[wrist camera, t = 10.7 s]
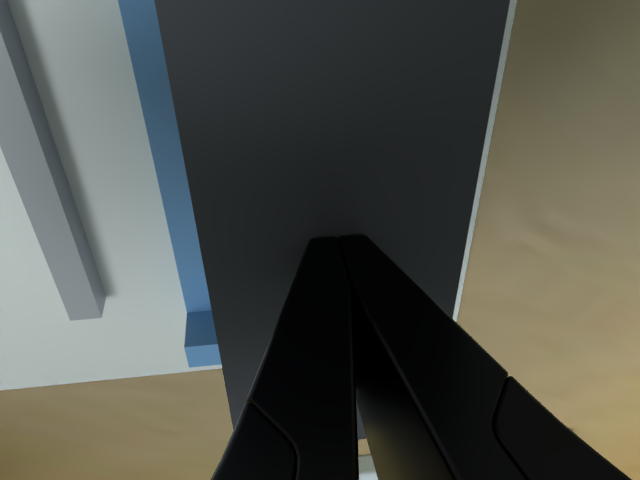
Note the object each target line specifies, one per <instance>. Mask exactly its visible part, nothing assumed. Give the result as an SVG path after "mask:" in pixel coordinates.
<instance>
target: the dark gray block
mask: <svg viewBox="0 0 640 480" xmlns="http://www.w3.org/2000/svg"><path fill="white" fill-rule="evenodd" d="M154 1H155V6H156V12H157V17H158V23H159V28H160V34H161V39H162V44H163V50H164V55H165V61H166V66H167V71H168V77H169V82H170V88H171V93H172V99H173V104H174V109H175V115H176V120H177V126H178V131H179V136H180V142H181V147H182V153H183V158H184V164H185V169H186V174H187V180H188V185H189V191H190V196H191V201H192V207H193V212H194V218H195V223H196V229H197V234H198V239H199V245H200V250H201V256H202V261H203V266H204V272H205V277H206V283H207V288H208V294H209V299H210V304H211V310H212V315H213V321H214V326H215V332H216V337H217V342H218V348H219V353H220V359H221V364H222V369H223V375H224V380H225V386H226V391H227V397H228V402H229V407H230V413H231V418H232V424H233V429H235V426H236V424H237V421H238V419H239V416H240V414H241V411H242V409H243V406H244V404H246V403H247V402H246V400H247V397H248V394H249V392H250V389H251V387H252V384H253V382H254V379H255V376H256V374H257V371H258V369H259V366H260V364H261V361H262V359H263V356H264V354H265V351H266V348H267V346H268V343H269V341H270V338H271V336H272V333H273V331H274V328H275V326H276V323H277V320H278V318H279V315H280V313H281V310H282V308H283V305H284V303H285V300H286V297H287V295H288V292H289V290H290V287H291V285H292V282H293V280H294V277H295V275H296V272H297V269H298V267H299V264H300V262H301V259H302V257H303V254H304V252H305V249H306V247H307V244H308V242H309V240H310V239H311V238H316V237H328V236H334V237H336V238H337V240H338V238H339V237H340V236H342V235H353V234H364V235H366V236H368V237H369V238H370V239H371V240H372V241H373V242H374V243H375V244H376V245H377V246H378V247H379V248H380V249H381V250H382V251H383V252H384V253H385V254H386V255H387V256H388V257H389V258H390V259H391V260H392V261H393V262H394V263H395V264H396V265H397V266H399V267H400V268H401V269H402V270H403V271H404V272H405V273H406V274H407V275H408V276H409V277H410V278H411V279H412V280H413V281H414V282H415V283H416V284H417V285H418V286H419V287H420V288H421V289H422V290H423V291H424V292H425V293H426V294H427V295H428V296H429V297H431V298H432V299H433V300H434V301H435V302H436V303H437V304H438V305H439V306H440V307H441V308H442V309H443V310H444V311H445V312H446V313H447V314H448V315H449V316H450V317H451V318H452V319H453V314H454V308H455V302H456V297H457V291H458V286H459V280H460V275H461V269H462V264H463V258H464V253H465V247H466V242H467V236H468V231H469V225H470V220H471V214H472V208H473V203H474V197H475V192H476V186H477V181H478V175H479V170H480V164H481V159H482V153H483V148H484V142H485V137H486V131H487V126H488V120H489V114H490V109H491V103H492V98H493V92H494V87H495V81H496V76H497V70H498V65H499V59H500V54H501V48H502V43H503V37H504V31H505V26H506V20H507V15H508V9H509V4H510V0H154ZM356 408H357V434H358V439H366V434H365V430H364V427H363V423H362V419H361V416H360V412H359V408H358V405H357V401H356Z"/></svg>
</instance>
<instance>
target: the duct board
mask: <svg viewBox="0 0 640 480" xmlns="http://www.w3.org/2000/svg"><path fill="white" fill-rule="evenodd" d="M516 4H517V0H510V4H509V9H508V15H507V20H506V26H505V31H504V37H503V43H502V48H501V54H500V59H499V65H498V70H497V76H496V81H495V87H494V92H493V98H492V103H491V109H490V114H489V120H488V126H487V131H486V137H485V142H484V148H483V153H482V159H481V164H480V170H479V175H478V181H477V186H476V192H475V197H474V203H473V208H472V214H471V220H470V225H469V231H468V236H467V242H466V247H465V253H464V258H463V264H462V269H461V275H460V280H459V286H458V291H457V297H456V302H455V308H454V314H453V320H454V321H455V322H456V321H457V316H458V311H459V305H460V300H461V295H462V290H463V284H464V279H465V274H466V268H467V263H468V258H469V253H470V247H471V242H472V237H473V231H474V226H475V221H476V216H477V210H478V205H479V200H480V194H481V189H482V184H483V179H484V173H485V168H486V163H487V158H488V152H489V147H490V142H491V136H492V131H493V126H494V121H495V115H496V110H497V105H498V99H499V94H500V89H501V84H502V78H503V73H504V68H505V62H506V57H507V52H508V47H509V41H510V36H511V31H512V25H513V20H514V15H515V10H516ZM212 369H222V364H221V359H220V353H219V348H218V342H217V337H216V332H215V326H214V321H213V315H212V310H211V304H210V299H209V294H208V288H207V283H206V277H205V272H204V266H203V261H202V256H201V250H200V245H199V239H198V234H197V229H196V223H195V218H194V212H193V207H192V201H191V196H190V191H189V185H188V180H187V174H186V169H185V164H184V158H183V153H182V147H181V142H180V136H179V131H178V126H177V120H176V115H175V109H174V104H173V99H172V93H171V88H170V82H169V77H168V71H167V66H166V61H165V55H164V50H163V44H162V39H161V34H160V28H159V23H158V17H157V12H156V6H155V1H154V0H0V390H10V389H20V388H30V387H40V386H50V385H60V384H70V383H80V382H90V381H100V380H111V379H121V378H131V377H141V376H151V375H161V374H171V373H181V372H191V371H201V370H212Z"/></svg>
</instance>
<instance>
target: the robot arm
mask: <svg viewBox="0 0 640 480" xmlns="http://www.w3.org/2000/svg"><path fill="white" fill-rule="evenodd" d="M507 377H508V372H507V371H506V370H505V369H504V368H503V367H502V366H501V365H500V364H499V363H498V362H497V361H496V360H495V359H494V358H492V357H491V356H490V355H489V354H488V353H487V352H486V351H485V350H484V349H483V348H482V347H481V346H480V345H479V344H478V343H477V342H476V341H475V340H474V339H473V338H472V337H471V336H470V335H469V334H468V333H467V332H466V331H465V330H464V329H463V328H462V327H460V326H459V325H458V324H457V323H456V322H455V321H454V320H453V319H452V318H451V317H450V316H449V315H448V314H447V313H446V312H445V311H444V310H443V309H442V308H441V307H440V306H439V305H438V304H437V303H436V302H435V301H434V300H433V299H432V298H431V297H429V296H428V295H427V294H426V293H425V292H424V291H423V290H422V289H421V288H420V287H419V286H418V285H417V284H416V283H415V282H414V281H413V280H412V279H411V278H410V277H409V276H408V275H407V274H406V273H405V272H404V271H403V270H402V269H401V268H400V267H399V266H397V265H396V264H395V263H394V262H393V261H392V260H391V259H390V258H389V257H388V256H387V255H386V254H385V253H384V252H383V251H382V250H381V249H380V248H379V247H378V246H377V245H376V244H375V243H374V242H373V241H372V240H371V239H370V238H369V237H368V236H366V235H364V234H353V235H342V236H340V237H339V238H338V240H337V238H336V237H334V236H328V237H316V238H311V239H310V240H309V242H308V244H307V247H306V249H305V252H304V254H303V257H302V259H301V262H300V264H299V267H298V269H297V272H296V275H295V277H294V280H293V282H292V285H291V287H290V290H289V292H288V295H287V297H286V300H285V303H284V305H283V308H282V310H281V313H280V315H279V318H278V320H277V323H276V326H275V328H274V331H273V333H272V336H271V338H270V341H269V343H268V346H267V348H266V351H265V354H264V356H263V359H262V361H261V364H260V366H259V369H258V371H257V374H256V376H255V379H254V382H253V384H252V387H251V389H250V392H249V394H248V397H247V400H246V402H247V403H246V404H244V406H243V409H242V411H241V414H240V416H239V419H238V421H237V424H236V426H235V429H234V431H233V433H232V436H231V438H230V440H229V442H228V445H227V447H226V449H225V452H224V454H223V456H222V459H221V461H220V463H219V465H218V467H217V469H216V470H215V472H214V474H213V476H212V478H211V480H359V460H358V434H357V408H356V401H357V405H358V408H359V412H360V416H361V419H362V423H363V427H364V430H365V434H366V438H367V441H368V445H369V449H370V452H371V456H372V459H373V463H374V467H375V470H376V474H377V478H378V480H632V479H630V478H629V477H628V476H627V475H625V474H624V473H623V472H622V471H620V470H619V469H618V468H616V467H615V466H614V465H613V464H611V463H610V462H609V461H608V460H606V459H605V458H604V457H603V456H601V455H600V454H599V453H598V452H596V451H595V450H594V449H593V448H592V447H590V446H589V445H588V444H587V443H586V442H584V441H583V440H582V439H581V438H580V437H578V436H577V435H576V434H575V433H574V432H572V431H571V430H570V429H569V428H568V427H566V426H565V425H564V424H563V423H562V422H560V421H559V420H558V419H557V418H556V417H555V416H554V415H553V414H552V413H551V412H550V411H548V410H547V409H546V408H545V407H544V406H543V405H542V404H541V403H540V402H539V401H538V400H536V399H535V398H534V397H533V396H532V395H531V394H530V393H529V392H528V391H527V390H526V389H525V388H524V387H523V386H522V385H521V384H520V383H519V382H518V381H517V380H516V379H514V378H513V377H512V376H509V377H508V378H507Z"/></svg>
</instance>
